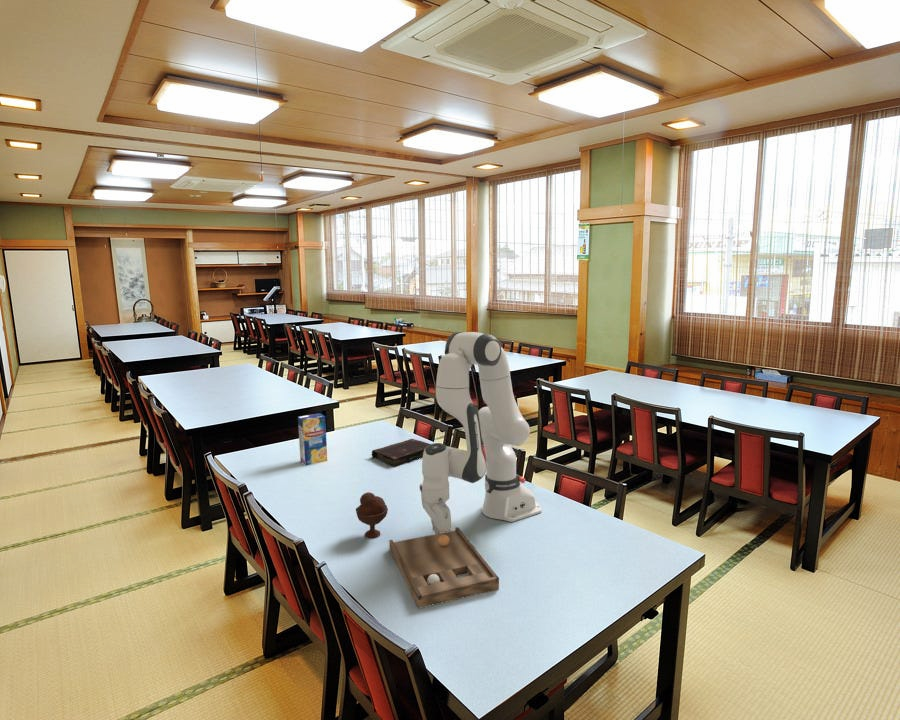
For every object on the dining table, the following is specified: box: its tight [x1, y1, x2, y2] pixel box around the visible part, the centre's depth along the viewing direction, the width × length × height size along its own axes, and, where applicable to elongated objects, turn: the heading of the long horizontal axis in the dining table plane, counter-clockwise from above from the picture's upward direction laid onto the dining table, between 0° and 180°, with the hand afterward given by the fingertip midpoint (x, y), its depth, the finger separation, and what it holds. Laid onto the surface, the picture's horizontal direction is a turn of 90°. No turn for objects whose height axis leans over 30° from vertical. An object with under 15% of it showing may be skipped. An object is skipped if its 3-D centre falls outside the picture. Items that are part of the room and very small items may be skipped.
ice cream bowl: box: [355, 492, 389, 540], centre depth 180 cm, size 11×11×15 cm
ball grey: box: [427, 574, 440, 585], centre depth 152 cm, size 4×4×4 cm
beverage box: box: [297, 412, 328, 466], centre depth 250 cm, size 7×11×22 cm, turn 125°
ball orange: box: [438, 535, 450, 546], centre depth 169 cm, size 4×4×4 cm
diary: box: [371, 438, 431, 468], centre depth 257 cm, size 19×25×5 cm
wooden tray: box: [388, 526, 500, 609], centre depth 161 cm, size 24×32×4 cm
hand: (436, 532), depth 176 cm, fingers closed
